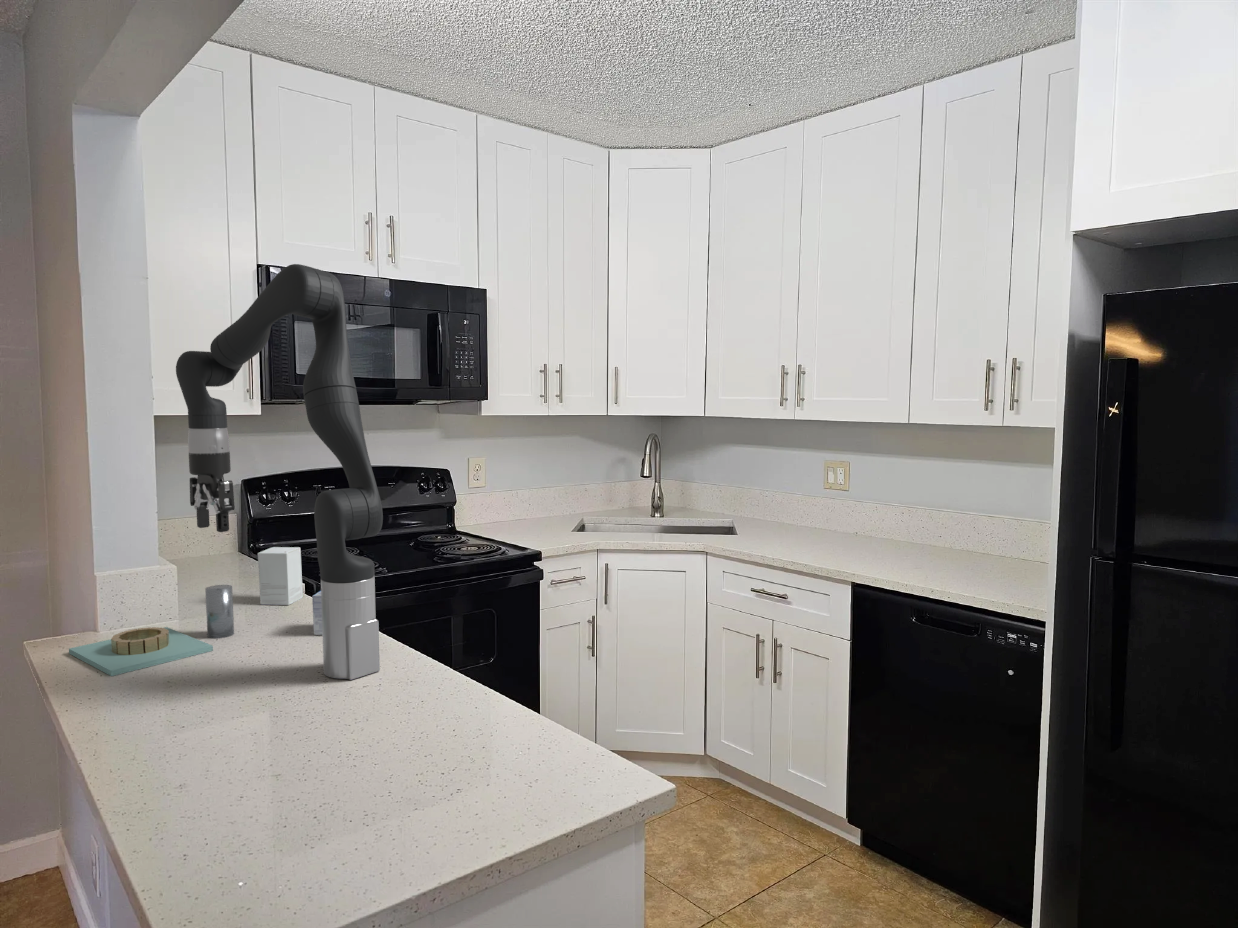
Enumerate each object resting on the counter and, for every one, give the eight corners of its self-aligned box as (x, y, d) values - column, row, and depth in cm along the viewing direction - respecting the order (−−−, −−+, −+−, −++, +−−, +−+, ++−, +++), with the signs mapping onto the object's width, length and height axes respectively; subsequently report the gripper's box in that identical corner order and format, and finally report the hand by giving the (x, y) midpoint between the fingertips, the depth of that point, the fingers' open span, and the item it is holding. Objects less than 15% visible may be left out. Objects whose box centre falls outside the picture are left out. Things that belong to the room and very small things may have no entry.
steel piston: (238, 634, 170) (236, 587, 169) (214, 639, 166) (212, 591, 165) (226, 629, 173) (224, 583, 172) (203, 635, 169) (200, 588, 168)
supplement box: (303, 597, 199) (302, 546, 198) (288, 605, 192) (286, 552, 191) (275, 596, 200) (273, 546, 199) (258, 604, 193) (256, 552, 192)
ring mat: (212, 650, 159) (212, 645, 159) (111, 676, 145) (110, 670, 145) (166, 631, 172) (166, 626, 172) (69, 653, 158) (68, 648, 157)
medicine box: (334, 635, 169) (333, 594, 168) (313, 635, 169) (311, 594, 168) (347, 624, 177) (346, 585, 176) (327, 624, 177) (326, 585, 176)
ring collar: (177, 645, 159) (176, 633, 159) (124, 658, 152) (124, 645, 152) (156, 636, 165) (155, 624, 165) (104, 648, 158) (103, 635, 157)
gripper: (244, 451, 164) (248, 530, 165) (211, 448, 173) (215, 523, 174) (206, 453, 158) (210, 535, 160) (174, 450, 167) (178, 528, 169)
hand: (213, 529), depth 167 cm, fingers open, 8 cm apart
